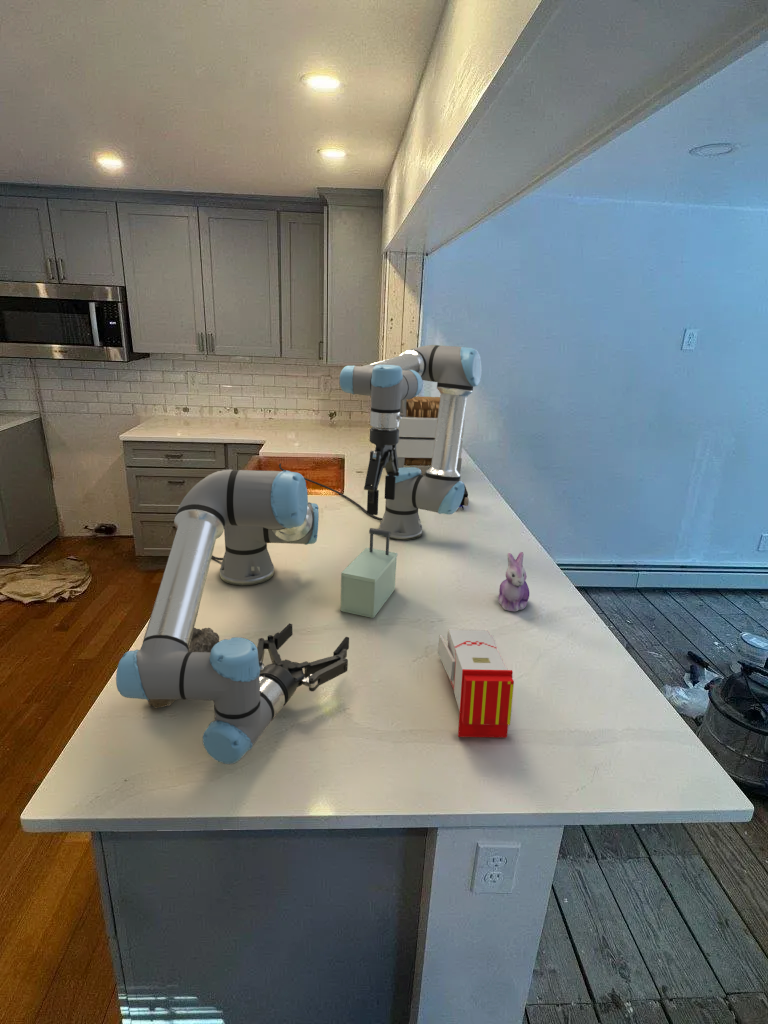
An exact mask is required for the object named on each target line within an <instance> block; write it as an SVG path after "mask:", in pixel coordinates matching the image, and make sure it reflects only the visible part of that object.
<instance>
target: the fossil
mask: <svg viewBox="0 0 768 1024" xmlns="http://www.w3.org/2000/svg"><path fill="white" fill-rule="evenodd" d="M218 642H220V635H219V634H218V633H217V632H214V630H213V629H212V628H211V627H204V628H201V629H200V628H196V627H194V630H193V634H192V638H191V642H190V646H189V650H188V652H211V650H212V648H213V646H214V645H215V644H216V643H218ZM175 701H177V699H150V700H147V703H148V705H149V706H152V707H154V708H156V709H158V708H162V707H166V706H168V707H169V706H171V705H173V703H174V702H175Z"/></svg>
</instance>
